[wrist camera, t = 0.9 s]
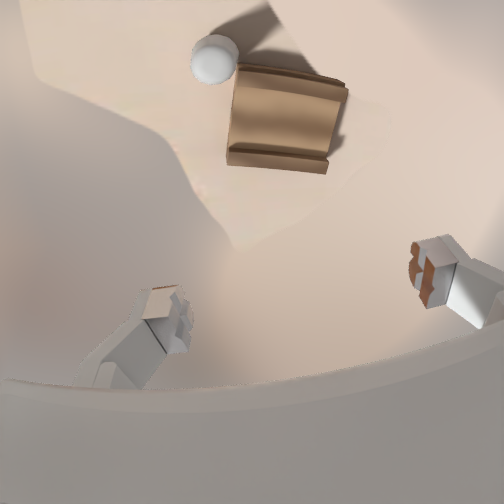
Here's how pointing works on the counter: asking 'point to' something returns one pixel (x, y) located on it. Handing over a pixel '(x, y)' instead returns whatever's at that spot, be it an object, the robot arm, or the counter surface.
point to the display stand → (282, 118)
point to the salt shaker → (214, 59)
